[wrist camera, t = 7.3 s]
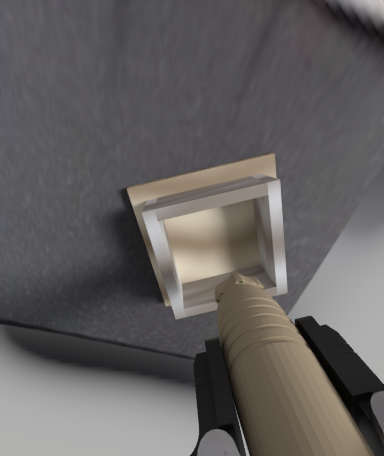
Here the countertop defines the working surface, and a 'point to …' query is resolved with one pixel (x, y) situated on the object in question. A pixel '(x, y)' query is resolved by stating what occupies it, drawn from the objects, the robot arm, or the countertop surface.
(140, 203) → the small square bin
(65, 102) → the countertop surface
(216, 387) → the robot arm
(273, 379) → the handle
